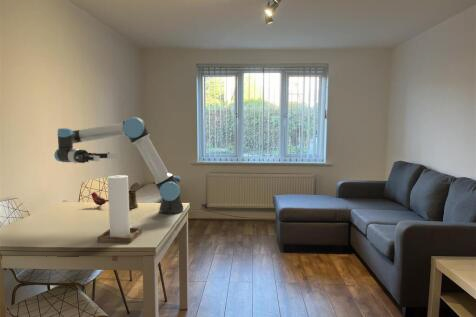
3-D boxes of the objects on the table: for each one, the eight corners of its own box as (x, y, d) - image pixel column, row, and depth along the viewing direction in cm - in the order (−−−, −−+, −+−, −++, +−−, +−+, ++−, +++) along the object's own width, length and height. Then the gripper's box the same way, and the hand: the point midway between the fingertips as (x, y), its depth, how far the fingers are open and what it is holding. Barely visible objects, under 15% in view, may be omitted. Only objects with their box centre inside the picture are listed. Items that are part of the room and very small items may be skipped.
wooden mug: (130, 211, 236) (129, 183, 234) (121, 207, 246) (120, 181, 244) (143, 208, 242) (142, 181, 240) (133, 205, 252) (133, 179, 250)
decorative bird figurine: (93, 206, 251) (92, 191, 250) (112, 208, 243) (112, 193, 242) (90, 206, 248) (89, 192, 247) (109, 209, 240) (109, 194, 239)
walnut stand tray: (111, 232, 190) (111, 227, 190) (141, 232, 189) (141, 228, 189) (97, 242, 174) (97, 237, 174) (130, 243, 173) (130, 237, 173)
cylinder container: (119, 239, 175) (116, 177, 172) (106, 236, 180) (103, 176, 177) (134, 234, 183) (132, 175, 180) (121, 231, 188) (119, 173, 185)
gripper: (95, 160, 218) (124, 162, 210) (60, 165, 195) (91, 166, 187) (94, 148, 218) (123, 148, 209) (60, 151, 195) (90, 152, 187)
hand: (108, 157), depth 198 cm, fingers open, 13 cm apart
